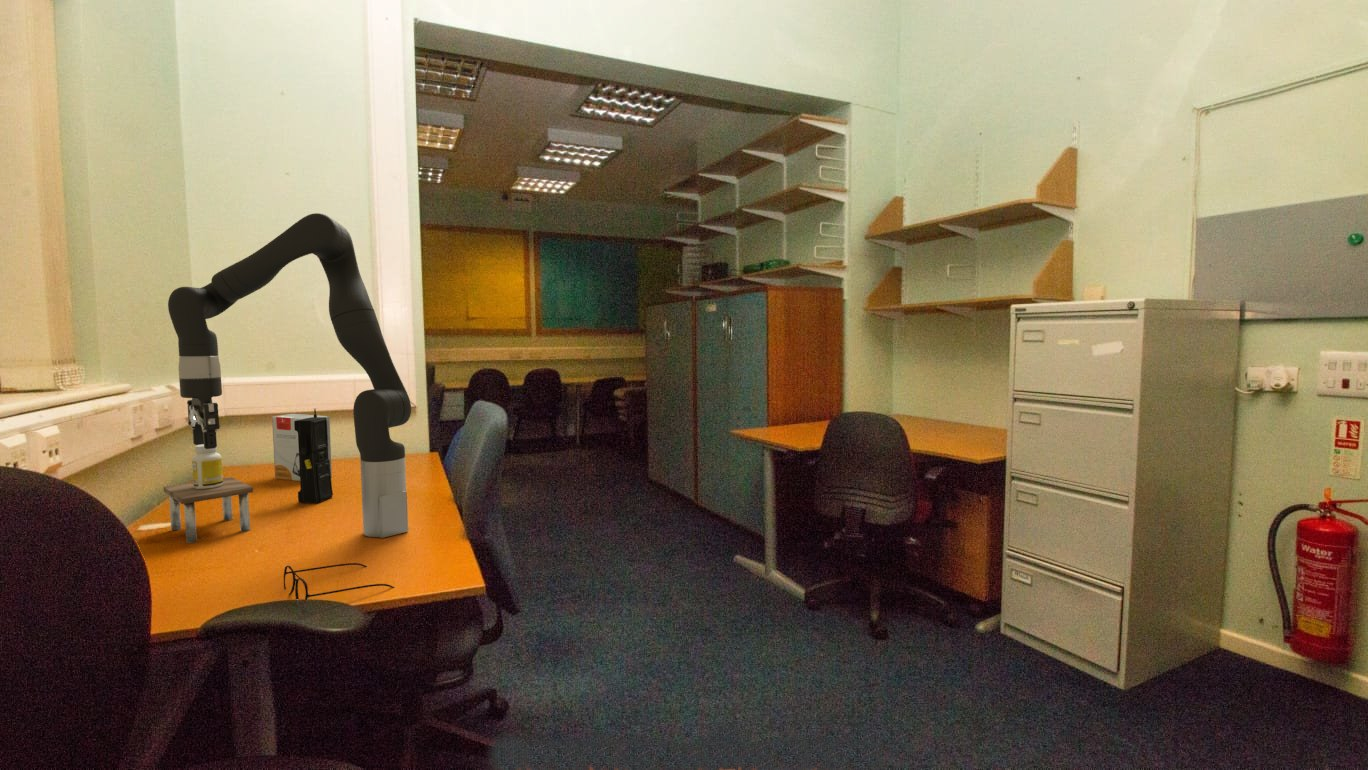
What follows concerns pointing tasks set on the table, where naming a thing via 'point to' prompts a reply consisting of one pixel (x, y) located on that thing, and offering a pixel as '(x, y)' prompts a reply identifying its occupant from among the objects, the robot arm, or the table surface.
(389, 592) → the table surface
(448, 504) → the table surface
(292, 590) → the glasses
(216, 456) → the supplement bottle
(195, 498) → the small wooden stool
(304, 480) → the portable radio
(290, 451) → the hard drive box
